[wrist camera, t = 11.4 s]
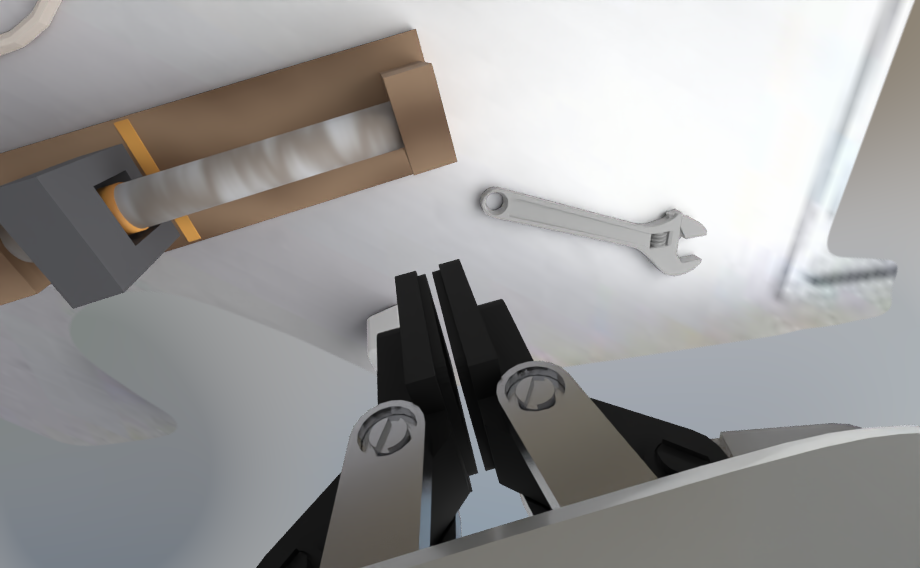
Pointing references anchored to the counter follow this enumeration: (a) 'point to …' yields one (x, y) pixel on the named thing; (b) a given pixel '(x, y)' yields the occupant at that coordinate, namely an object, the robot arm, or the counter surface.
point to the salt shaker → (380, 330)
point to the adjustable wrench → (604, 227)
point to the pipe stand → (256, 147)
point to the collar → (81, 227)
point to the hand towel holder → (29, 26)
